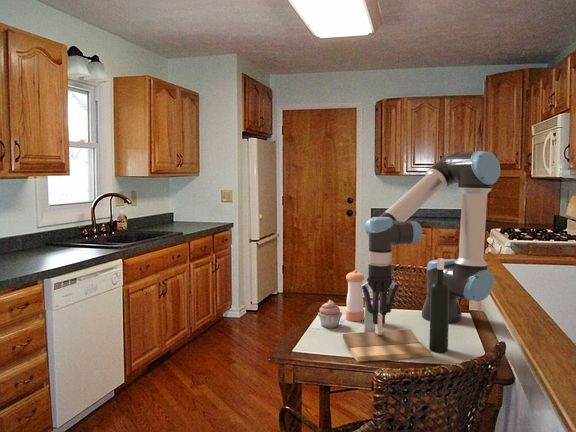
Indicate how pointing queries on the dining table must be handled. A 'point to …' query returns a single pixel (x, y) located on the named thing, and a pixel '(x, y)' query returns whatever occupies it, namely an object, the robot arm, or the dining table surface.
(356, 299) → the peach and white cylinder
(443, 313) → the wine bottle
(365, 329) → the supplement box
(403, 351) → the laid plank
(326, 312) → the cupcake
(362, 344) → the board
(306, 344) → the dining table surface
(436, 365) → the dining table surface
